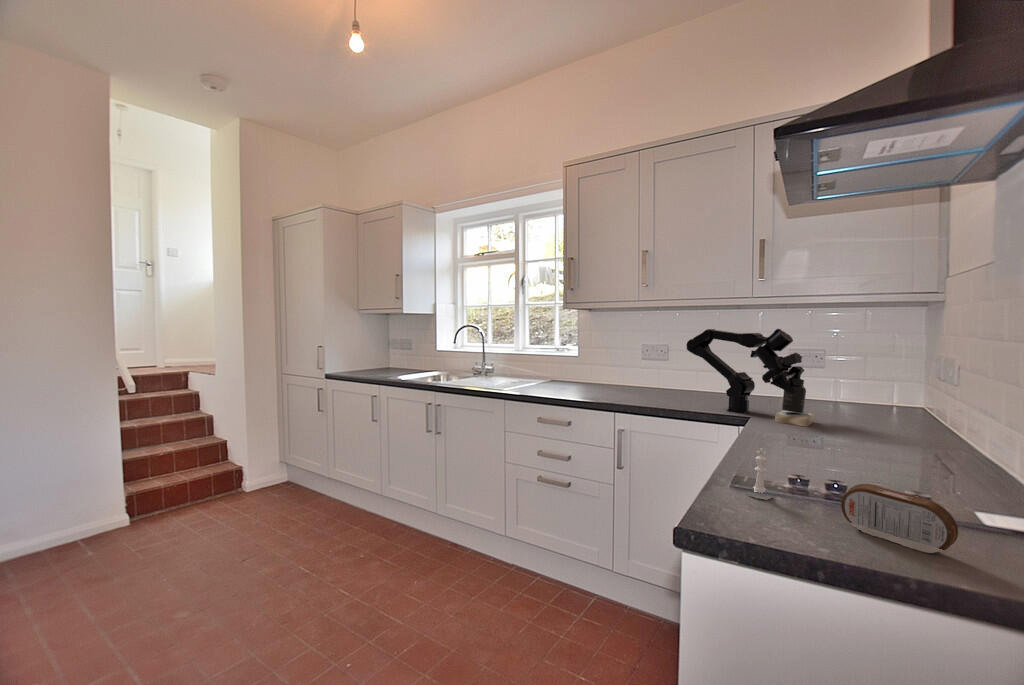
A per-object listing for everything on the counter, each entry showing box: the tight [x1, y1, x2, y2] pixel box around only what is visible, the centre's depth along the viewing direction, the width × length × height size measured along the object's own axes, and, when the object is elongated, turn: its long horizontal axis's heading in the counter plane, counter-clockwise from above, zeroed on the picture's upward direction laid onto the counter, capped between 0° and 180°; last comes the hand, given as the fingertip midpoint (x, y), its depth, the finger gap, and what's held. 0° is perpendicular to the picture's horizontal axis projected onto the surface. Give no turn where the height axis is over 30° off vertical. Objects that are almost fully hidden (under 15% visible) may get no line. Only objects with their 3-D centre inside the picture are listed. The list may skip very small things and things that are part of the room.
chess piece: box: [752, 448, 767, 493], centre depth 95 cm, size 5×5×10 cm
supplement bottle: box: [781, 378, 807, 413], centre depth 165 cm, size 7×7×12 cm
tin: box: [840, 483, 959, 551], centre depth 76 cm, size 15×3×8 cm, turn 35°
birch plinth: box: [774, 409, 815, 427], centre depth 166 cm, size 10×10×3 cm
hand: (799, 392), depth 164 cm, fingers closed on supplement bottle, 7 cm apart
